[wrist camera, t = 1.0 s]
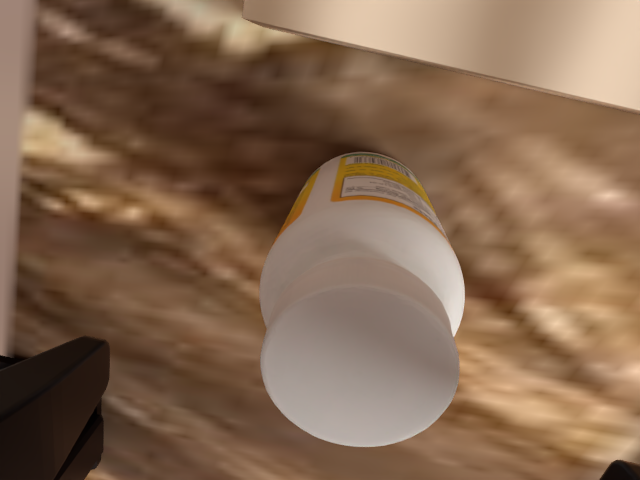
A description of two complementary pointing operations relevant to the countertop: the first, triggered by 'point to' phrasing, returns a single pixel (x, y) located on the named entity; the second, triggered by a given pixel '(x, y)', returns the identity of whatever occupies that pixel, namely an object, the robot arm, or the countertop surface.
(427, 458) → the countertop surface
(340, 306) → the supplement bottle
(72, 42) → the countertop surface
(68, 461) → the robot arm
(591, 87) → the socket block
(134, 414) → the countertop surface
